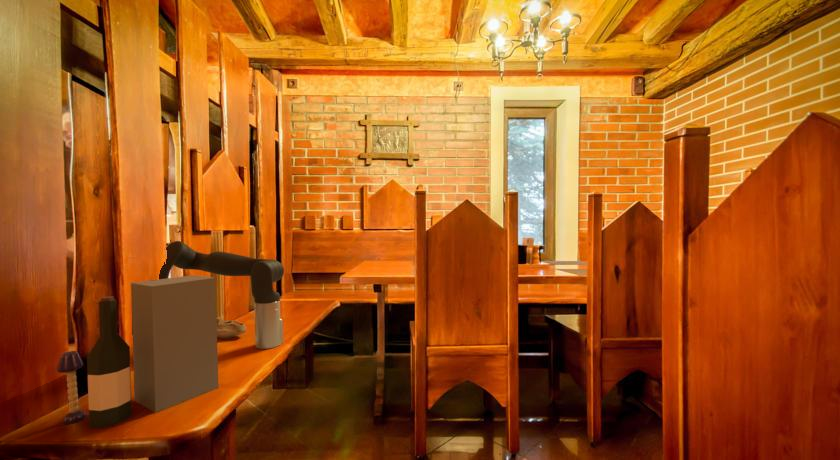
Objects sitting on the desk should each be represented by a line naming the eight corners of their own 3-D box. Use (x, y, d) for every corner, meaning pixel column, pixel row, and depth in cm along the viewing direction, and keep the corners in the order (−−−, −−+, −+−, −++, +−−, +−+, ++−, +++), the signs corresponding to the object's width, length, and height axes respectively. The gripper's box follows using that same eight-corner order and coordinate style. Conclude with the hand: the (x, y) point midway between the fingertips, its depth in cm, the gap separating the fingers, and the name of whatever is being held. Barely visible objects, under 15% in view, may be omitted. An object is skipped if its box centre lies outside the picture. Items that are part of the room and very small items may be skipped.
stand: (196, 379, 112) (193, 275, 112) (218, 387, 106) (215, 277, 105) (134, 401, 99) (130, 283, 98) (155, 412, 92) (151, 286, 92)
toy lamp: (69, 426, 87) (66, 356, 86) (53, 424, 88) (51, 355, 87) (90, 415, 91) (88, 349, 91) (76, 414, 92) (73, 348, 92)
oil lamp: (240, 341, 149) (240, 321, 149) (204, 341, 150) (204, 321, 149) (254, 332, 160) (253, 314, 160) (220, 333, 161) (220, 314, 160)
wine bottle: (96, 432, 84) (91, 302, 83) (83, 422, 88) (78, 298, 88) (139, 415, 91) (135, 295, 90) (124, 407, 95) (121, 292, 95)
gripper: (123, 305, 124) (142, 283, 116) (170, 297, 136) (190, 277, 128) (129, 325, 122) (148, 304, 114) (176, 315, 135) (196, 296, 127)
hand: (170, 290), depth 121 cm, fingers open, 5 cm apart
